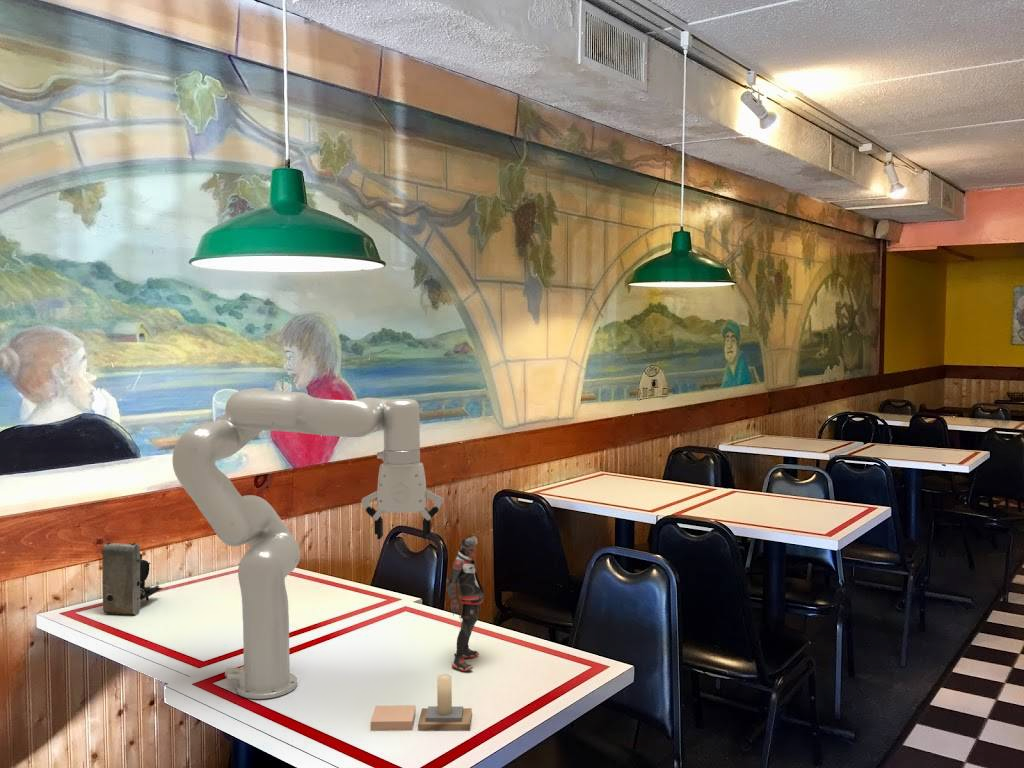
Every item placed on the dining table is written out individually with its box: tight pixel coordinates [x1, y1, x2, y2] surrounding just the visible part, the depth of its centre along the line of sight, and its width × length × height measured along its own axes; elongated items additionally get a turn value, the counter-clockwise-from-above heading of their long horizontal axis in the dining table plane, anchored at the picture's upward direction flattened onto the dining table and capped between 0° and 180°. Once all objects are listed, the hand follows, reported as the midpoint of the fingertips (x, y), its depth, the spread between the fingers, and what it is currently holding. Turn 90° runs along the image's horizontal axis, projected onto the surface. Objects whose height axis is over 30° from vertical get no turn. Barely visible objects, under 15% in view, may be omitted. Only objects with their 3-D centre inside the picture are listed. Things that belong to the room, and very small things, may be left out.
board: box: [417, 707, 473, 731], centre depth 165 cm, size 10×7×1 cm
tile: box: [370, 704, 417, 732], centre depth 165 cm, size 2×7×8 cm
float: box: [425, 673, 464, 722], centre depth 164 cm, size 7×5×8 cm
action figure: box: [445, 536, 486, 672], centre depth 194 cm, size 10×11×30 cm
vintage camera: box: [101, 541, 163, 616], centre depth 236 cm, size 10×16×20 cm, turn 172°
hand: (402, 537), depth 177 cm, fingers open, 9 cm apart
